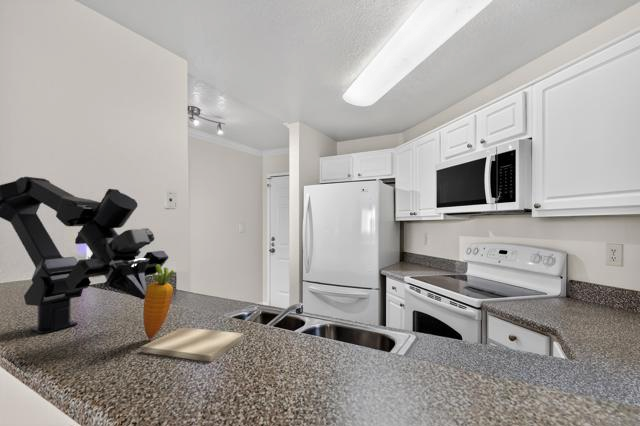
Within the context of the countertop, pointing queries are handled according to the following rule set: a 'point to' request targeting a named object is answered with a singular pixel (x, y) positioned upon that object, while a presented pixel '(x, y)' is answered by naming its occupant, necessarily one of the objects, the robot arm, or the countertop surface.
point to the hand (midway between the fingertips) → (145, 297)
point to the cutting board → (194, 344)
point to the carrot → (157, 302)
